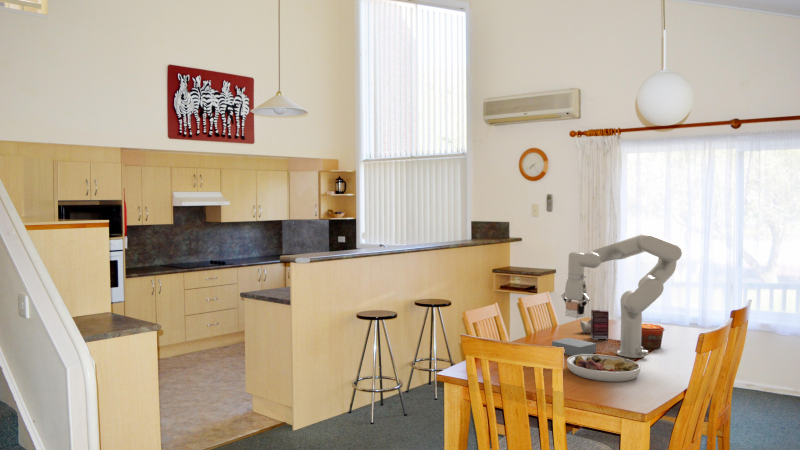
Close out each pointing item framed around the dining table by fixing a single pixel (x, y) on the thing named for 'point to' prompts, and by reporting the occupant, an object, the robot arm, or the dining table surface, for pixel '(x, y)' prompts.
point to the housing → (573, 309)
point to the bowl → (603, 367)
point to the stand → (575, 346)
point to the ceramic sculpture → (586, 326)
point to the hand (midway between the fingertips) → (575, 312)
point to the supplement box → (599, 324)
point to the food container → (651, 336)
